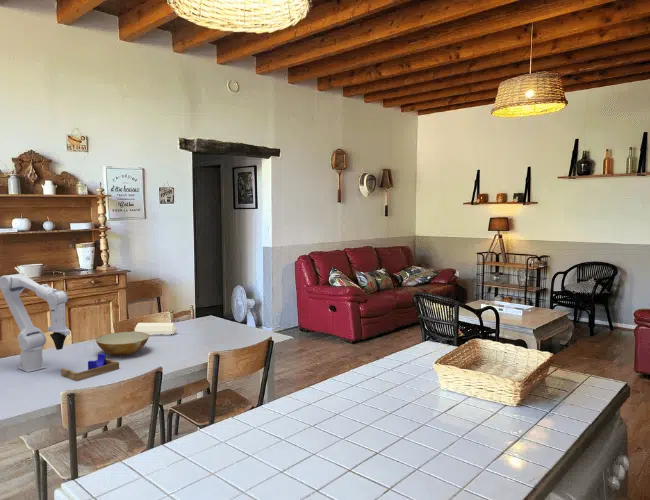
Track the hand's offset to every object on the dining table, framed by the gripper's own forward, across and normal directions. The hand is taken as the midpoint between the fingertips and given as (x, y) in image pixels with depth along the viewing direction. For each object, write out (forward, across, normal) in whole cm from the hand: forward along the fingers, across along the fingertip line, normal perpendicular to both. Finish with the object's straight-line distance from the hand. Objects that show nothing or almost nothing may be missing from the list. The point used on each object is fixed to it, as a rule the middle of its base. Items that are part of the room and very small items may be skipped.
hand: (59, 349), depth 214 cm
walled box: (+11, -10, -8) cm, 17 cm away
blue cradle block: (+11, -10, -10) cm, 18 cm away
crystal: (+11, +21, -67) cm, 71 cm away
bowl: (+11, +4, -34) cm, 36 cm away
